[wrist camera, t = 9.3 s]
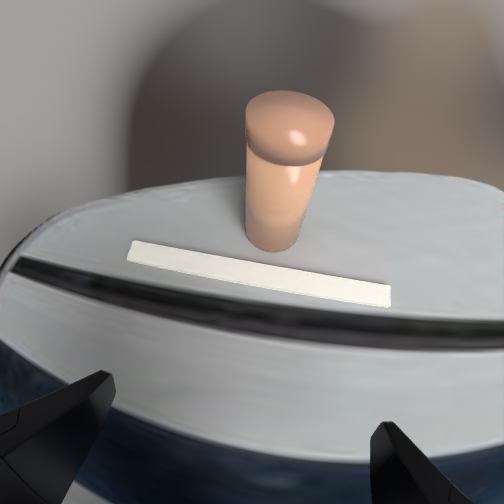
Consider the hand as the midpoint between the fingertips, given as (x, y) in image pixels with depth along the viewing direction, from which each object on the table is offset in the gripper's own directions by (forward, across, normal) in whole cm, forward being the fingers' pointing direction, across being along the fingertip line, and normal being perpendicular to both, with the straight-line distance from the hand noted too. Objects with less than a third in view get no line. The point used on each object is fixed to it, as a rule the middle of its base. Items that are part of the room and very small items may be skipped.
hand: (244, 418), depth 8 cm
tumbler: (+20, 0, -1) cm, 21 cm away
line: (+17, +1, +2) cm, 17 cm away
